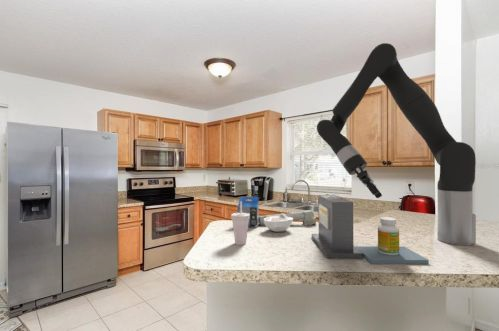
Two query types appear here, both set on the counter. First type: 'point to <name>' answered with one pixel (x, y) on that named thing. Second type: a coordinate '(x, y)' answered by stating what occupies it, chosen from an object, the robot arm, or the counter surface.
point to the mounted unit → (336, 228)
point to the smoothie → (240, 226)
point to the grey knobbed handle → (295, 217)
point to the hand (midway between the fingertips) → (378, 195)
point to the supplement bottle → (388, 236)
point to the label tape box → (250, 209)
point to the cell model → (278, 222)
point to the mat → (391, 256)
